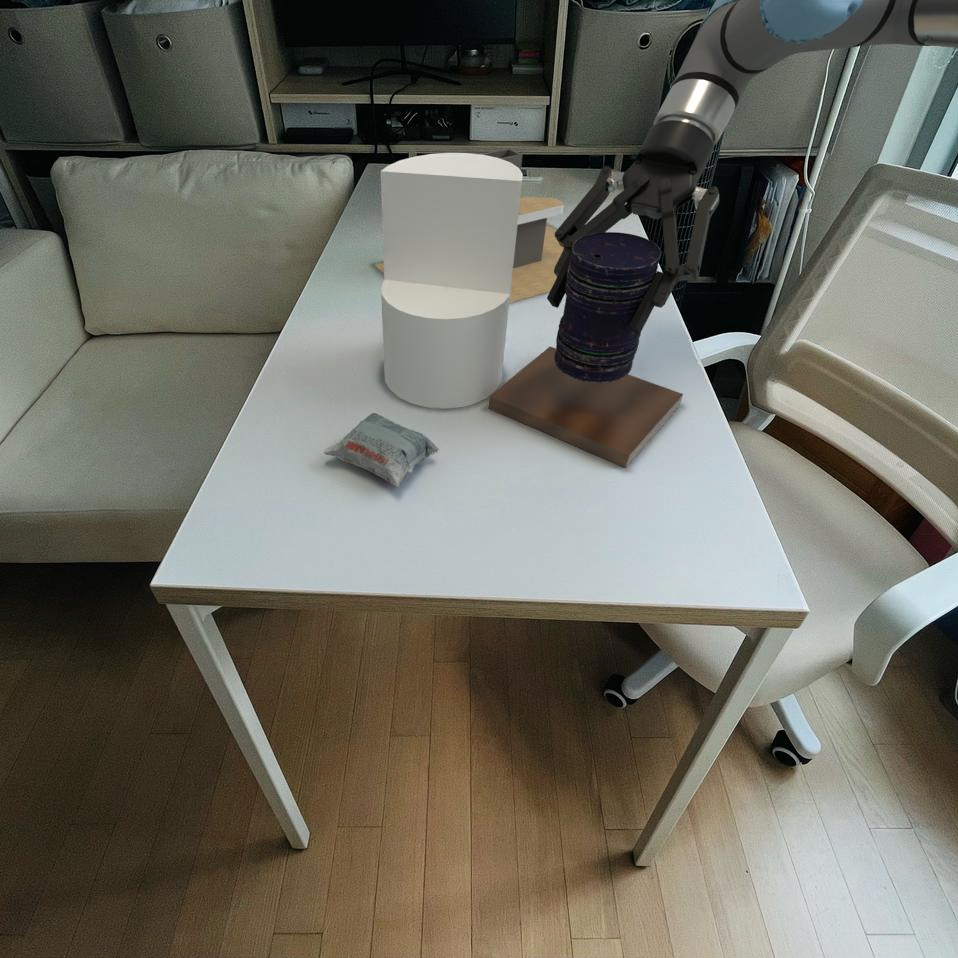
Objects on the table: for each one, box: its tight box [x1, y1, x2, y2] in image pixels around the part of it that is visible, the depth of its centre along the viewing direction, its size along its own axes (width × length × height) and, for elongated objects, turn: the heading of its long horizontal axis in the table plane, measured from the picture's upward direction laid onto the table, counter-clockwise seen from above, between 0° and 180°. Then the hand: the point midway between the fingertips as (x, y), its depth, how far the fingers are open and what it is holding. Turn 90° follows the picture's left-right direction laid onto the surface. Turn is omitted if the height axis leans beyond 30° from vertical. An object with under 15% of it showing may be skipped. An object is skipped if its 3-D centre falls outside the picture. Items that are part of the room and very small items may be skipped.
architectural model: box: [374, 148, 565, 304], centre depth 115 cm, size 38×25×20 cm, turn 114°
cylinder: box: [380, 152, 524, 410], centre depth 88 cm, size 17×17×28 cm
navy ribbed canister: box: [554, 231, 662, 383], centre depth 80 cm, size 10×10×15 cm
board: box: [487, 346, 684, 469], centre depth 89 cm, size 20×16×2 cm
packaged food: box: [323, 412, 440, 488], centre depth 82 cm, size 9×12×5 cm
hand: (592, 315), depth 78 cm, fingers closed on navy ribbed canister, 10 cm apart
